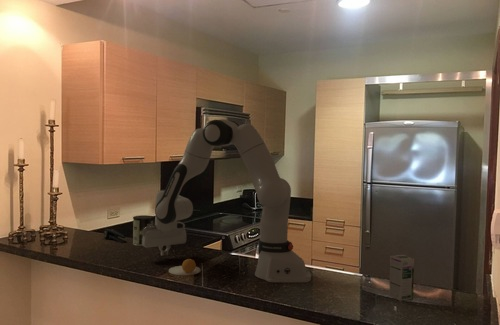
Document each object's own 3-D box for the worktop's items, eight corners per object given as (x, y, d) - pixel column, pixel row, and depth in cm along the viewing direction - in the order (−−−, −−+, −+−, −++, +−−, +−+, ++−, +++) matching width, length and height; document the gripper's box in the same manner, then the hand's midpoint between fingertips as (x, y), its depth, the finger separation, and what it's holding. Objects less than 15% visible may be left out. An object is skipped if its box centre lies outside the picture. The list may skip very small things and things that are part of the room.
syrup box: (400, 301, 138) (402, 259, 138) (388, 295, 144) (390, 255, 143) (413, 299, 141) (415, 257, 140) (400, 293, 146) (402, 253, 146)
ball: (198, 259, 165) (196, 270, 167) (186, 254, 166) (184, 266, 168) (193, 265, 160) (191, 277, 162) (181, 261, 161) (178, 272, 163)
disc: (203, 267, 172) (203, 266, 172) (196, 276, 159) (196, 275, 159) (174, 265, 174) (174, 264, 174) (164, 274, 161) (164, 273, 161)
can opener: (100, 238, 221) (100, 228, 221) (112, 236, 226) (112, 226, 226) (118, 244, 209) (118, 233, 209) (129, 242, 215) (130, 231, 214)
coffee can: (156, 242, 215) (156, 215, 215) (147, 246, 205) (148, 218, 205) (138, 240, 217) (138, 214, 217) (128, 245, 207) (129, 217, 207)
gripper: (145, 227, 175) (144, 259, 175) (188, 223, 187) (187, 253, 187) (140, 225, 180) (139, 256, 180) (182, 221, 192) (181, 250, 192)
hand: (164, 255), depth 184 cm, fingers closed
